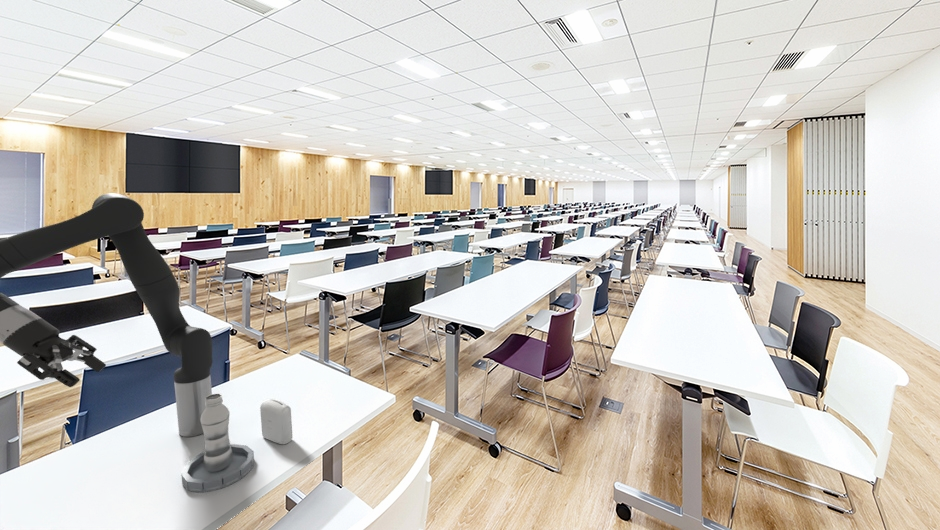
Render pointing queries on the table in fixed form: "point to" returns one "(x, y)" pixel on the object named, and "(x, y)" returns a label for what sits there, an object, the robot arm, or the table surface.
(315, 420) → the table surface
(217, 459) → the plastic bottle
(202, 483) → the round tray
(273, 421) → the photo printer
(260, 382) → the table surface
